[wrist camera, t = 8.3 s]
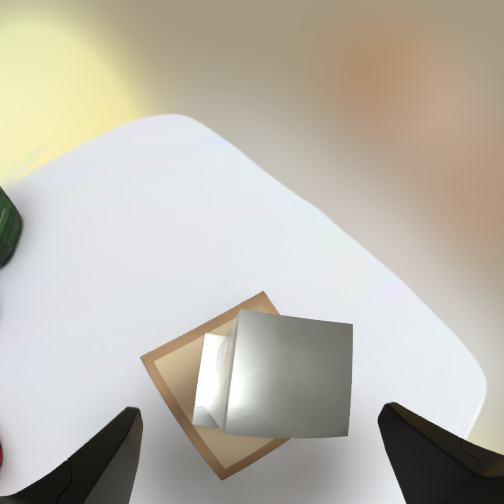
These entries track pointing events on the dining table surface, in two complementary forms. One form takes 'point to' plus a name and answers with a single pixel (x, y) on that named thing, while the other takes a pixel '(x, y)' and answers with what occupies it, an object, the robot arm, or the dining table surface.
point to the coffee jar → (8, 226)
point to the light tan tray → (185, 387)
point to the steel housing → (276, 378)
